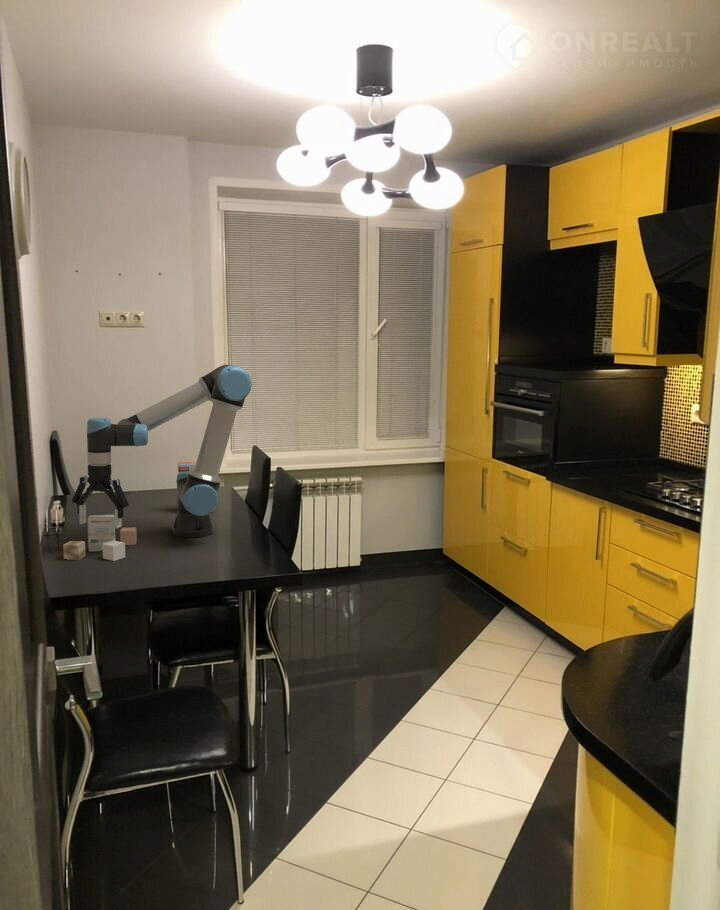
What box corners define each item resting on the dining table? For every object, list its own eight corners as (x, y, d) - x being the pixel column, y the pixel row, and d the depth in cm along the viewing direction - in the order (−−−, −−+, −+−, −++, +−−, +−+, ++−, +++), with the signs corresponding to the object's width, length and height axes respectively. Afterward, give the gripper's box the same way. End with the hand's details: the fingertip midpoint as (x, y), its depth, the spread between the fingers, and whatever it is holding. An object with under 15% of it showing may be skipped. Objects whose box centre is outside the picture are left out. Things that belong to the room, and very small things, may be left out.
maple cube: (85, 556, 244) (85, 541, 243) (78, 560, 239) (78, 545, 238) (71, 555, 244) (70, 540, 244) (63, 559, 239) (63, 545, 239)
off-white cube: (125, 557, 244) (124, 542, 243) (113, 561, 239) (113, 546, 239) (114, 554, 246) (114, 540, 245) (102, 558, 242) (102, 543, 241)
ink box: (115, 546, 255) (114, 513, 253) (114, 550, 250) (114, 517, 248) (89, 548, 253) (88, 514, 251) (88, 552, 248) (87, 518, 246)
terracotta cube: (136, 540, 263) (136, 527, 262) (135, 544, 258) (134, 531, 257) (122, 541, 262) (121, 527, 261) (120, 545, 257) (120, 531, 256)
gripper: (138, 465, 247) (139, 526, 251) (73, 459, 253) (75, 519, 257) (126, 468, 240) (127, 531, 244) (60, 462, 246) (61, 524, 249)
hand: (100, 525), depth 250 cm, fingers open, 13 cm apart
